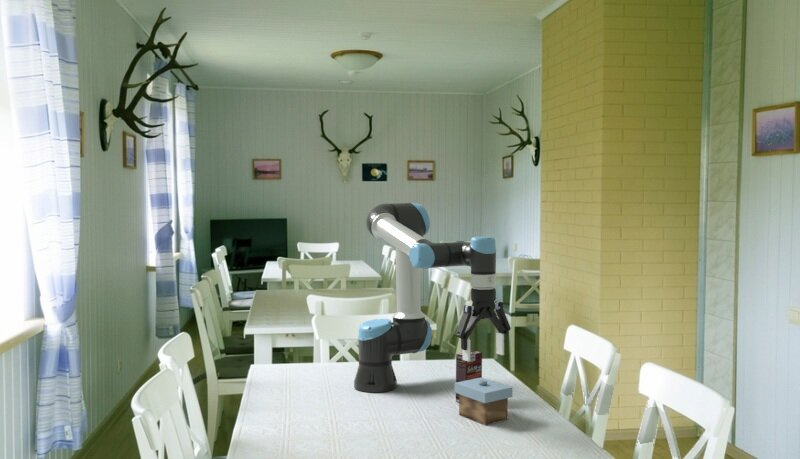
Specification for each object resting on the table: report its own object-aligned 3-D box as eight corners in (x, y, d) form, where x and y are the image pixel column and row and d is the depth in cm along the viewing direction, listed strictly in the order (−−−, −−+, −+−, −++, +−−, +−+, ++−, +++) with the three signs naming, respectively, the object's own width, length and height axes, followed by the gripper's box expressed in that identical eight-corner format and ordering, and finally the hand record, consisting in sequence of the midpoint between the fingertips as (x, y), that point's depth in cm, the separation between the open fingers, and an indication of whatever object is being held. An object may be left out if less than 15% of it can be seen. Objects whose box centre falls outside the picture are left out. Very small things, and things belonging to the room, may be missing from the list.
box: (459, 415, 222) (459, 392, 221) (481, 409, 227) (481, 387, 226) (485, 425, 212) (485, 401, 212) (507, 419, 217) (507, 396, 217)
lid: (454, 395, 222) (454, 379, 221) (481, 389, 228) (481, 374, 228) (485, 406, 210) (485, 389, 210) (512, 400, 216) (512, 383, 216)
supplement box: (466, 404, 232) (466, 356, 231) (455, 401, 236) (455, 354, 235) (482, 399, 239) (482, 351, 238) (471, 396, 242) (471, 349, 241)
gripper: (459, 292, 207) (459, 365, 208) (522, 285, 221) (522, 353, 222) (443, 289, 213) (443, 360, 214) (505, 283, 227) (505, 349, 228)
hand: (483, 357), depth 218 cm, fingers open, 13 cm apart
